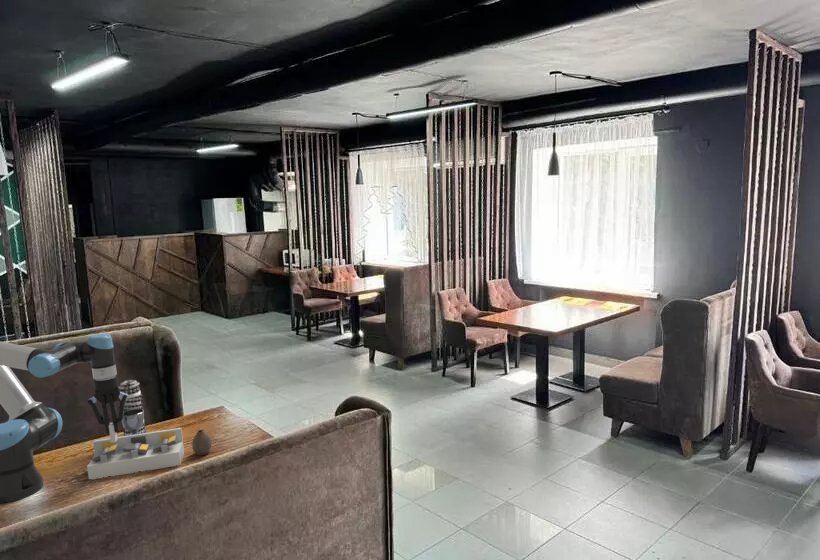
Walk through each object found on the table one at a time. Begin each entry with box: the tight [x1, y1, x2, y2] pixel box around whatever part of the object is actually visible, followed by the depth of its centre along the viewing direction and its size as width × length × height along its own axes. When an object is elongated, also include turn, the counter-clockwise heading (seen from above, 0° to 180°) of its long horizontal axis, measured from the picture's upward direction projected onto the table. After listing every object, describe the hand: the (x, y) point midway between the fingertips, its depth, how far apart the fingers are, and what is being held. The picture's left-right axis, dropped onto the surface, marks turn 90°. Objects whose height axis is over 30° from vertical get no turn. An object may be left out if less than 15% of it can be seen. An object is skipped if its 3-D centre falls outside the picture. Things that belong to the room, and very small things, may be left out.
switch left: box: [91, 444, 119, 462], centre depth 201 cm, size 8×5×2 cm, turn 105°
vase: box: [191, 429, 213, 456], centre depth 212 cm, size 7×7×9 cm
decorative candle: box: [116, 379, 147, 436], centre depth 227 cm, size 9×9×25 cm
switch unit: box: [86, 427, 185, 480], centre depth 204 cm, size 30×11×10 cm, turn 105°
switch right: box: [153, 435, 178, 452], centre depth 206 cm, size 8×5×2 cm, turn 105°
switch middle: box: [122, 443, 149, 453], centre depth 203 cm, size 8×5×2 cm, turn 105°
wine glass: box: [121, 408, 145, 435], centre depth 219 cm, size 8×8×15 cm
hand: (114, 441), depth 201 cm, fingers closed
